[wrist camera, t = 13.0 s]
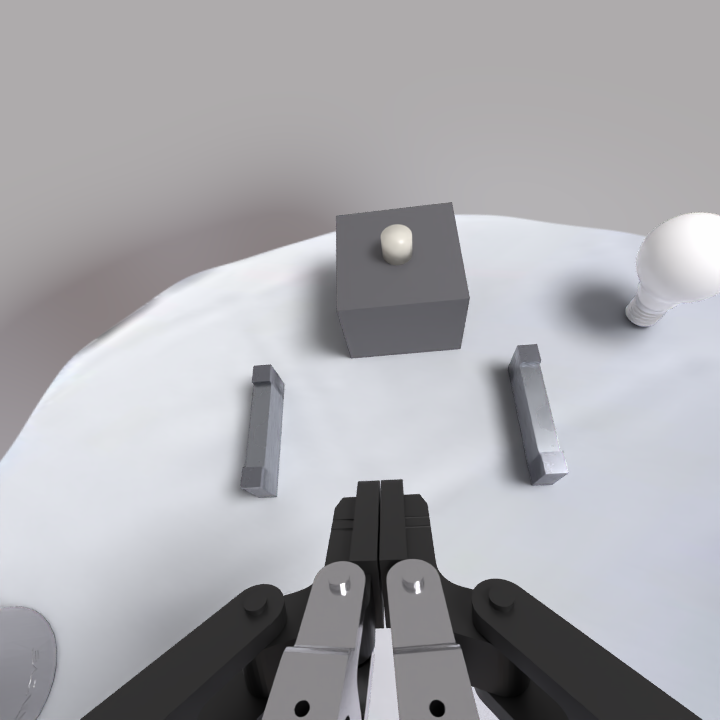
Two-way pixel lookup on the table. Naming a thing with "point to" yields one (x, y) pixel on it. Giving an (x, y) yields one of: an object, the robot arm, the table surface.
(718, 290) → the lightbulb
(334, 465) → the table surface
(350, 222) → the plug block
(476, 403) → the table surface
